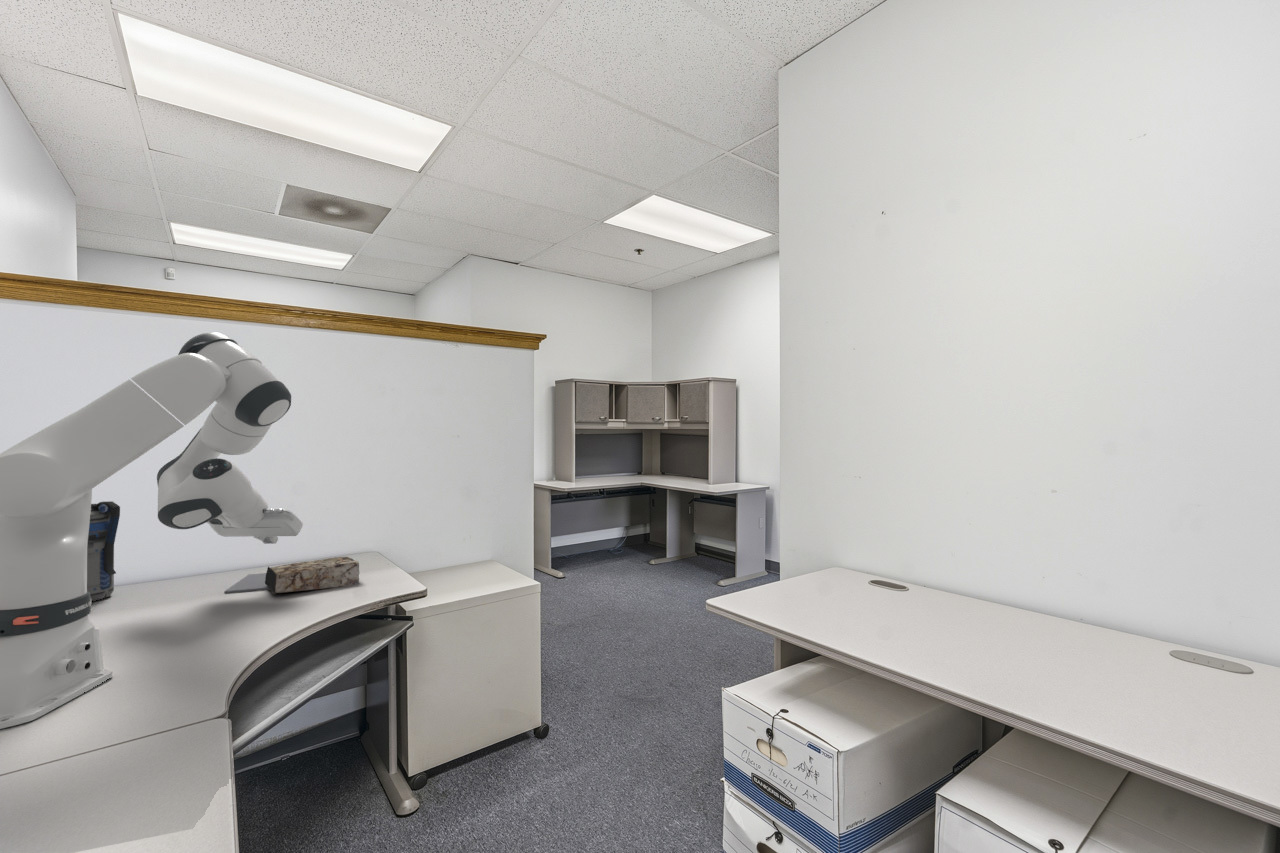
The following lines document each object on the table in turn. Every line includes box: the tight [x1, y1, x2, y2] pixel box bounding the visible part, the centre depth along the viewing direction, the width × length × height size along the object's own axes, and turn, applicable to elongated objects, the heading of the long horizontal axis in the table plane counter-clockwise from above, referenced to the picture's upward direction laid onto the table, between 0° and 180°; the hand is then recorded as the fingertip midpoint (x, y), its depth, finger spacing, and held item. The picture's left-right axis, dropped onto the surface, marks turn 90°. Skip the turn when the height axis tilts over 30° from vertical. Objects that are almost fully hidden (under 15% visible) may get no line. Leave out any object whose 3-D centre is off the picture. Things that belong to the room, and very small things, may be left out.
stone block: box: [265, 556, 360, 595], centre depth 148 cm, size 13×7×20 cm
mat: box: [223, 572, 270, 594], centre depth 152 cm, size 18×18×1 cm
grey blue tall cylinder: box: [87, 500, 121, 603], centre depth 136 cm, size 10×13×25 cm
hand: (271, 541), depth 145 cm, fingers closed
